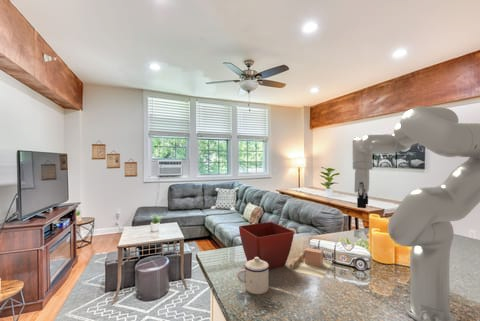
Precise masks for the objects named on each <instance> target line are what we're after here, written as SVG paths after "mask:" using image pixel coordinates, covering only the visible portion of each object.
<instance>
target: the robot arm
mask: <svg viewBox="0 0 480 321" xmlns="http://www.w3.org/2000/svg"><path fill="white" fill-rule="evenodd" d="M399 120H400V121H399V122H398V123H396V125H395V127H394V128H393V133H391V134H366V135H363V136H359V137H358V136H357V137H354V138H353V139H352V170H354V193H355V194H357V198H356V200H357V202H356V204H357V206H356V207H357V208H358V209H367V205H369V194H368V193H369V190H370V170H373V155H374V154H375V155H376V154H378V155H380V154H382V155H383V154H385V155H386V154H388V155H389V154H395V153H397V152H398V153H399V152H402V151H405V150H408V149H410V148H411V147H412V146H413V145H416V144H419V145H421V146H422V147H424V148H425V149H427V150H429V151H431V152H432V153H434V154H436V155H439V156H441V157H446V158H468V159H467V160H465V161H464V162H463V163H461V164H460V165H458V166H457V167H456V168H455V169H453V170H452V171H451V173H450V174H449V175H448V177H447V178H446V179H445V180H444V181H443V182H442V183H441V184H440V185H438V186H432V187H420V188H419V187H418V188H415V189H413V190H412V191H410V192H409V193H407V195H405V196H404V198H403V199H402V201H401V202H400V203H399V205H398V206H397V207H396V209H395V211H394V212H393V213H392V215H391V217H390V218H389V221H388V224H387V233H388V235H389V238H390V239H391V240H392V241H393V242H394V243H395V244H397V245H399V246H401V247H411V250H410V252H409V253H410V255H409V277H410V278H409V282H410V283H409V284H410V285H409V287H410V290H409V292H410V298H409V299H410V300H408V301H406V302H405V304H404V311H405V313H406V314H407V315H409V317H411V318H412V319H413V320H415V321H458V319H457V318H456V316H455V315H454V314H453V312H450V311H451V306H450V305H451V302H450V299H451V298H450V296H451V295H450V288H451V287H450V283H451V282H450V258H451V257H450V256H451V248H452V244H453V241H454V232H455V231H454V227H453V225H452V222H456V221H460V220H462V219H465V218H466V217H467V216H468V215H469V214H470V213H471V212H472V210H474V209H475V208H476V207H477V205H478V204H480V123H472V122H468V123H466V122H465V123H463V122H461V123H460V122H459V117H458V114H456V112H455V111H453V110H452V109H450V108H447V107H440V106H439V107H438V106H437V107H435V106H416V107H412V108H410V109H408V110H407V111H406V112H404V113H403V115H402V116H401V117H400V119H399Z"/></svg>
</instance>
